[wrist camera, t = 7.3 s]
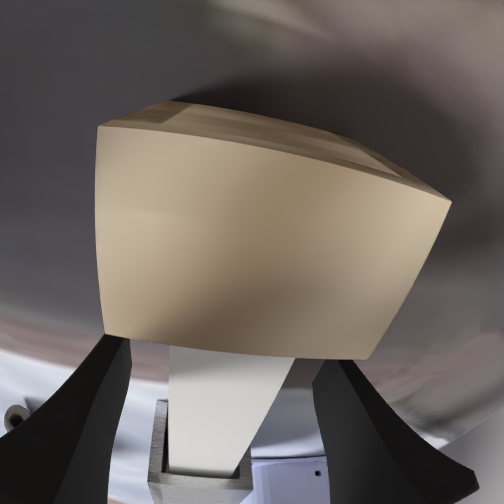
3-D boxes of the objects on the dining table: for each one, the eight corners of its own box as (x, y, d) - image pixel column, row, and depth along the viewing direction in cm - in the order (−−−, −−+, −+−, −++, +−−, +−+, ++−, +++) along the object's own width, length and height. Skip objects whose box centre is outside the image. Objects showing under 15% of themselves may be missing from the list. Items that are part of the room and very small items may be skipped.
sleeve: (247, 409, 21) (253, 489, 15) (229, 451, 25) (231, 511, 19) (156, 400, 20) (147, 481, 14) (159, 444, 24) (154, 504, 18)
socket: (352, 138, 11) (451, 201, 6) (317, 246, 14) (367, 359, 8) (167, 100, 10) (98, 126, 5) (153, 220, 13) (105, 333, 7)
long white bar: (296, 202, 12) (332, 275, 8) (227, 418, 21) (229, 477, 16) (196, 184, 12) (177, 253, 7) (174, 412, 20) (169, 472, 16)
